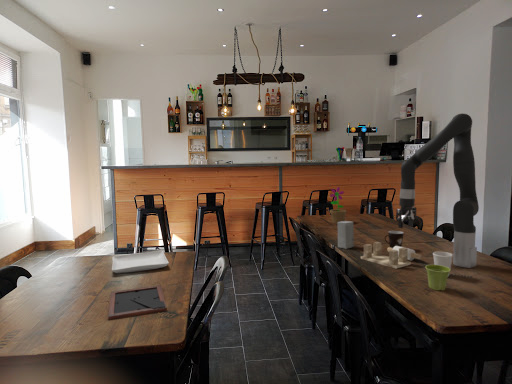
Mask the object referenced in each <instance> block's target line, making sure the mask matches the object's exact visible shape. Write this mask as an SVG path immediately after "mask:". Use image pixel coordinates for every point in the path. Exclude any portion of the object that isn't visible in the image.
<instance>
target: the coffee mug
mask: <svg viewBox="0 0 512 384" xmlns="http://www.w3.org/2000/svg"><path fill="white" fill-rule="evenodd" d="M387 237H388V241H387V240H386V239H387ZM403 239H404V231H400V230H389V231H388V232H387V235H385V236H384V241H385V243H387V245H389V247H390V248H393V247H394V246H400V247H403Z"/></svg>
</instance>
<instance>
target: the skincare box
mask: <svg viewBox="0 0 512 384" xmlns="http://www.w3.org/2000/svg"><path fill="white" fill-rule="evenodd" d="M354 231H355V230H354V221H349V220H348V221H347V220H344V221H341V222H337V248H341V249H345V250H347V249H351V248H353V247H355V246H354V245H355V243H354V240H355V239H354V236H355V235H354Z"/></svg>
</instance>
